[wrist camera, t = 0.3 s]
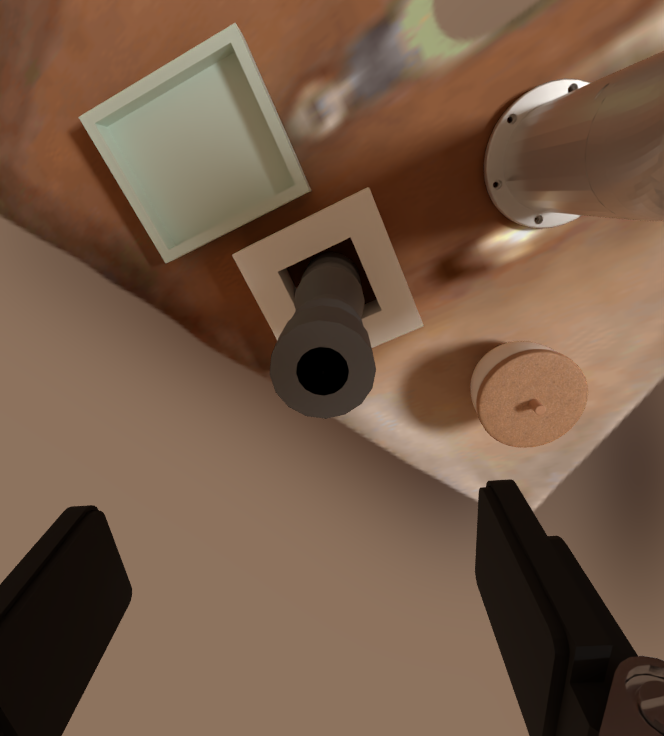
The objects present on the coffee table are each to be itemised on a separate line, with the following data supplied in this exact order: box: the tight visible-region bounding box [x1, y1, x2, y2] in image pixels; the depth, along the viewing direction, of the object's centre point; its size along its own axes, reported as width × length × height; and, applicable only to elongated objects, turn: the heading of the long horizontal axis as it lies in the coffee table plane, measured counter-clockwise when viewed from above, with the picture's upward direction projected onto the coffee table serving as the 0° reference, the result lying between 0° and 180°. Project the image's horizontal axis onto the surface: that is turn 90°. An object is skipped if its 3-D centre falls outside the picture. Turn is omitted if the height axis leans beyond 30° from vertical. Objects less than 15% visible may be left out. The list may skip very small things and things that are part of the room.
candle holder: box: [270, 252, 376, 419], centre depth 34 cm, size 6×6×25 cm
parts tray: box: [79, 23, 312, 263], centre depth 40 cm, size 16×14×3 cm
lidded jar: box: [470, 341, 588, 448], centre depth 45 cm, size 11×11×9 cm
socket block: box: [232, 187, 424, 348], centre depth 43 cm, size 14×14×5 cm
